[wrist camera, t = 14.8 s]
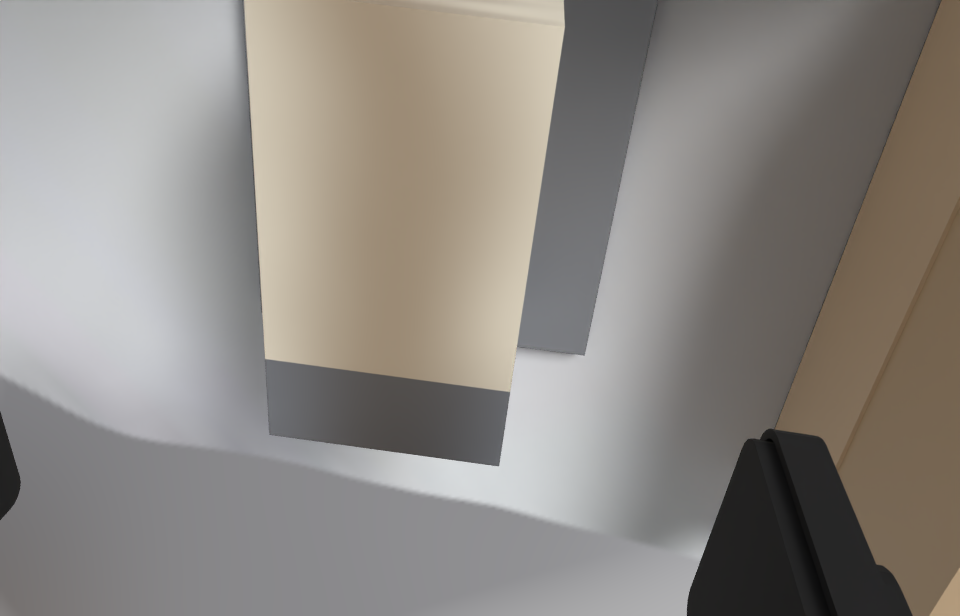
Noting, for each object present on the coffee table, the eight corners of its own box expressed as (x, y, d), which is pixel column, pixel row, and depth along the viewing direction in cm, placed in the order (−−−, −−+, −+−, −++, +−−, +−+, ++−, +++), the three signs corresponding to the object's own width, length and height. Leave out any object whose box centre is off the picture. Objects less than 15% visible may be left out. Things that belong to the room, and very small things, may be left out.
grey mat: (672, -90, 17) (676, -89, 17) (583, 344, 23) (584, 355, 23) (244, -140, 17) (234, -140, 17) (268, 302, 23) (261, 312, 23)
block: (562, -27, 17) (565, 27, 11) (514, 303, 22) (498, 466, 16) (351, -53, 18) (243, -13, 12) (347, 281, 22) (269, 434, 16)
